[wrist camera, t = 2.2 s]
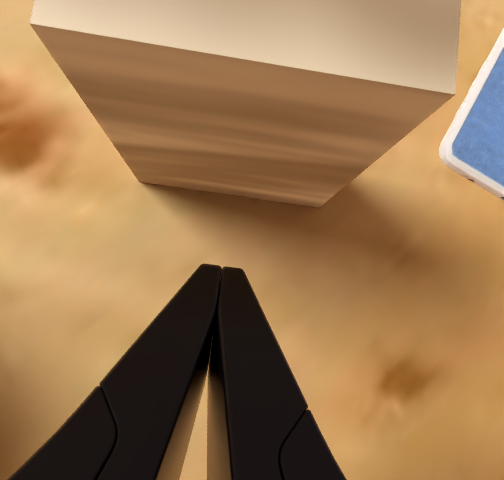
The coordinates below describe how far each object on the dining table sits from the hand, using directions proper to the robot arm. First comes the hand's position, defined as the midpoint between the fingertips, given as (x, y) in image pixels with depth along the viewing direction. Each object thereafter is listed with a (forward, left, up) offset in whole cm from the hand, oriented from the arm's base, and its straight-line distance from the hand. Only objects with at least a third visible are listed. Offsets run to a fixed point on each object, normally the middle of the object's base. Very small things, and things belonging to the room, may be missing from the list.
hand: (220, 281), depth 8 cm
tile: (+5, -4, -12) cm, 13 cm away
